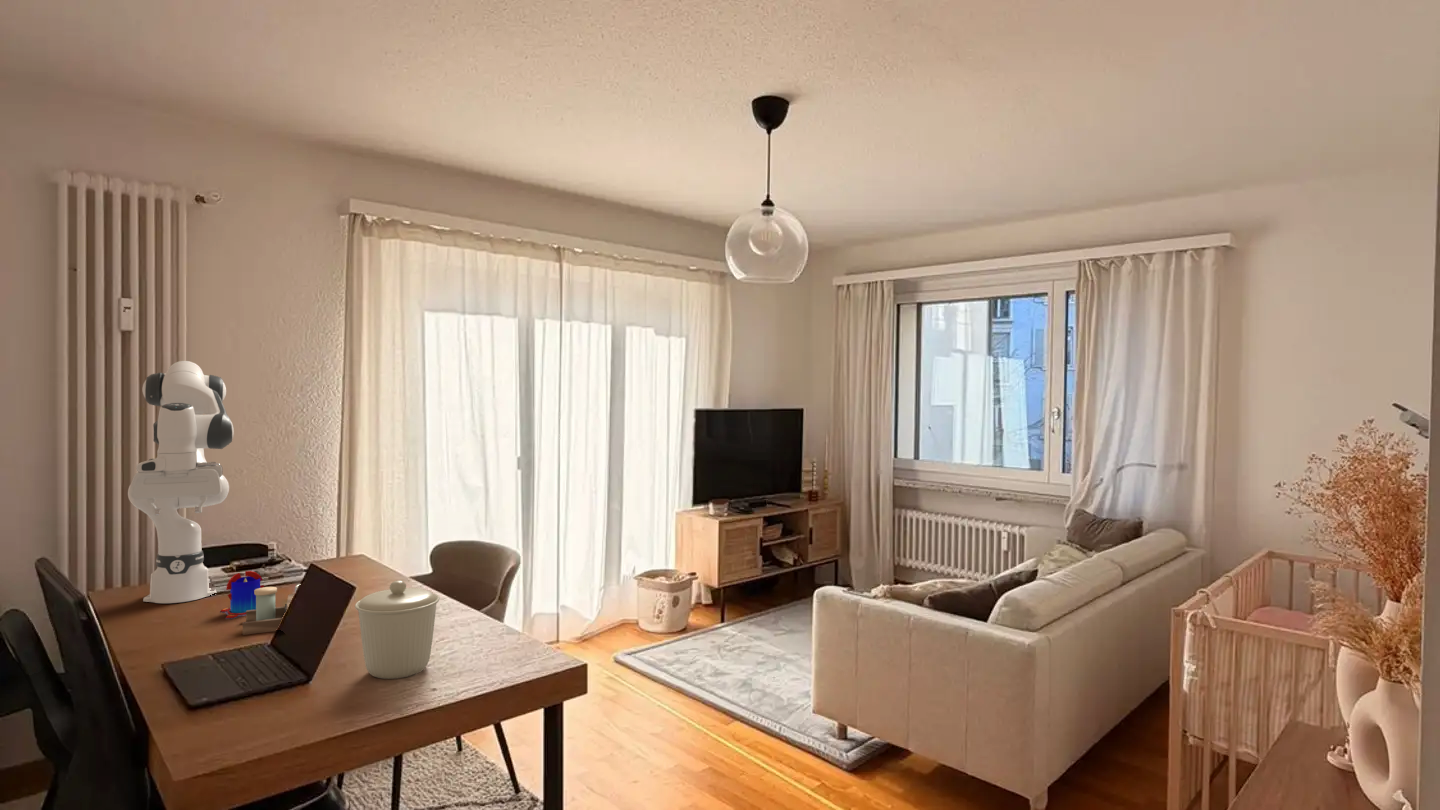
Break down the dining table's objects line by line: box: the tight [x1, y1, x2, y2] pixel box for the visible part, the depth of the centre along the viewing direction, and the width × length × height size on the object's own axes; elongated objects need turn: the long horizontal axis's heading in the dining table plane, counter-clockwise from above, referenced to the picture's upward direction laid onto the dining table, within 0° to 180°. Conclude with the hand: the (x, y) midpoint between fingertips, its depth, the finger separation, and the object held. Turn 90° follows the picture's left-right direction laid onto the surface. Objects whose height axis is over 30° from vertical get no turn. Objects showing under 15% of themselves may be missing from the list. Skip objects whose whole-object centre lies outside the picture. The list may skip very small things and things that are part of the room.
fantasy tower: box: [219, 570, 265, 620], centre depth 227 cm, size 12×12×12 cm
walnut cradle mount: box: [242, 593, 295, 636], centre depth 215 cm, size 16×12×6 cm
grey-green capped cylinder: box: [254, 586, 278, 621], centre depth 214 cm, size 5×5×10 cm
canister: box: [354, 580, 440, 680], centre depth 180 cm, size 18×18×21 cm
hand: (177, 513), depth 211 cm, fingers open, 8 cm apart
